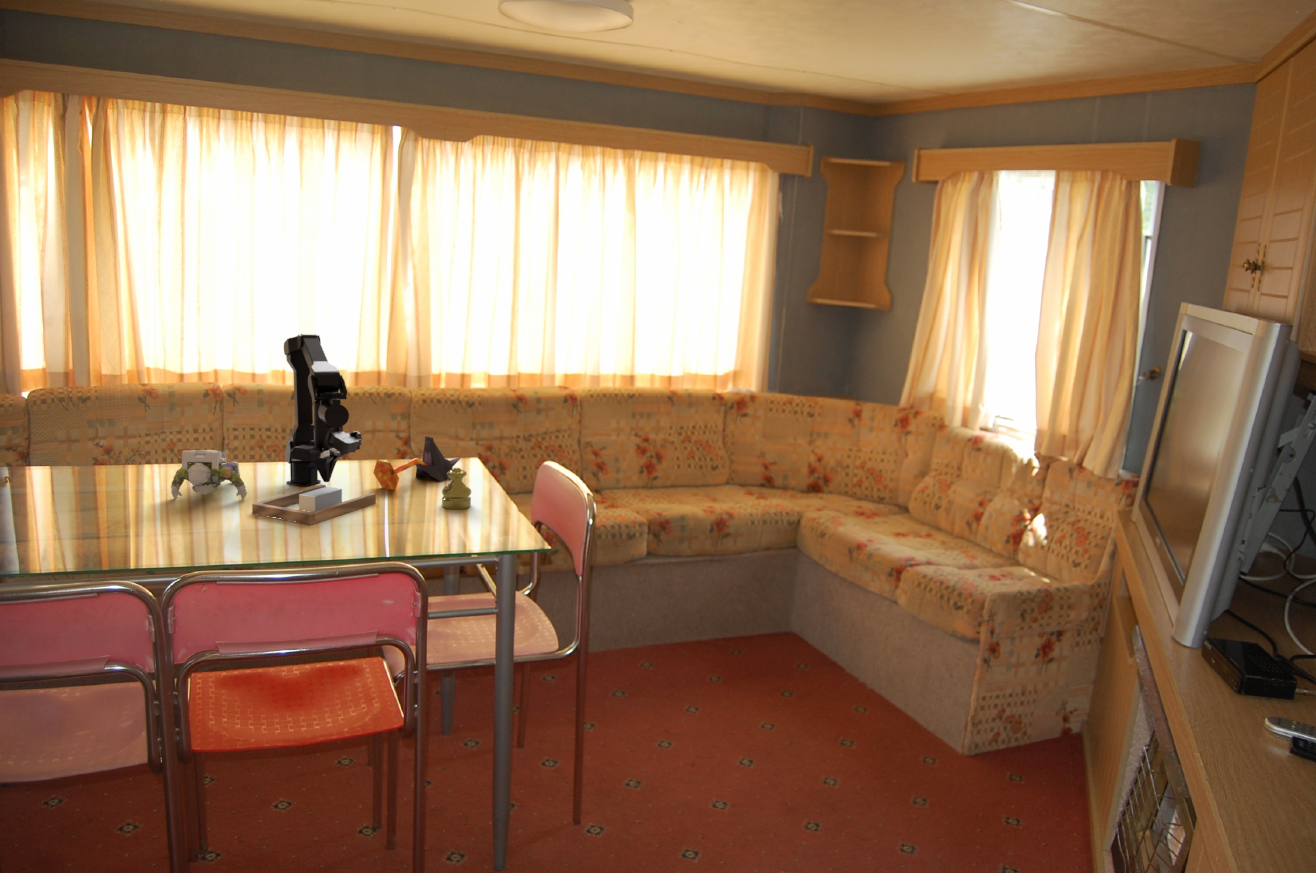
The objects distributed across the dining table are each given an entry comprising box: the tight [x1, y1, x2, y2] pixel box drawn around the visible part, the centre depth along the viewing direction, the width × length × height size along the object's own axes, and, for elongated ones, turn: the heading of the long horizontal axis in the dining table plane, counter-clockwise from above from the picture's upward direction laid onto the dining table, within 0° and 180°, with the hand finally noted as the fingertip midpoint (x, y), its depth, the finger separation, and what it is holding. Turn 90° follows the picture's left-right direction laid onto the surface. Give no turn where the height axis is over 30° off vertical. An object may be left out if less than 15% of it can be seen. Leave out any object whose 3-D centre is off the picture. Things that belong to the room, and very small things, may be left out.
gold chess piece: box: [441, 467, 472, 510], centre depth 237 cm, size 7×7×10 cm
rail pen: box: [251, 484, 377, 526], centre depth 228 cm, size 18×24×2 cm
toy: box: [170, 449, 248, 500], centre depth 233 cm, size 18×12×30 cm
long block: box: [298, 485, 343, 512], centre depth 230 cm, size 4×4×10 cm
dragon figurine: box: [373, 436, 461, 491], centre depth 260 cm, size 10×12×25 cm
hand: (326, 481), depth 231 cm, fingers closed
